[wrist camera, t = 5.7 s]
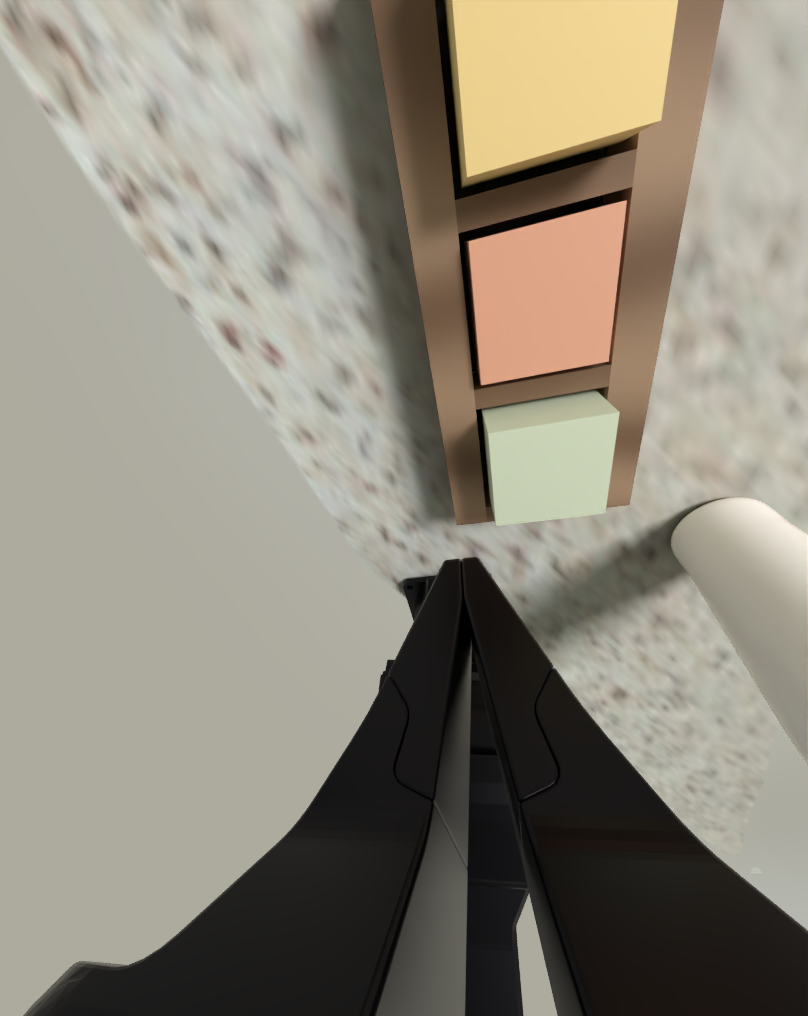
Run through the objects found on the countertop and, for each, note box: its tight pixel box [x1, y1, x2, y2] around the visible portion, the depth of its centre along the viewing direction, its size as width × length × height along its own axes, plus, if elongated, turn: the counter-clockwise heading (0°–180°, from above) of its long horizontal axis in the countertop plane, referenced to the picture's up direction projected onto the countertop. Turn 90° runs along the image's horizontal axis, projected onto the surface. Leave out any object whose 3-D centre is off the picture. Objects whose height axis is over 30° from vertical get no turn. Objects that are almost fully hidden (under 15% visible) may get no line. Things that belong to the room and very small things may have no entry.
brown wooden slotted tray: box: [370, 0, 724, 525], centre depth 15 cm, size 21×9×2 cm, turn 12°
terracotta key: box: [464, 200, 627, 385], centre depth 14 cm, size 5×5×3 cm
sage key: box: [482, 389, 620, 526], centre depth 17 cm, size 5×5×3 cm
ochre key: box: [445, 0, 678, 188], centre depth 9 cm, size 5×5×3 cm
